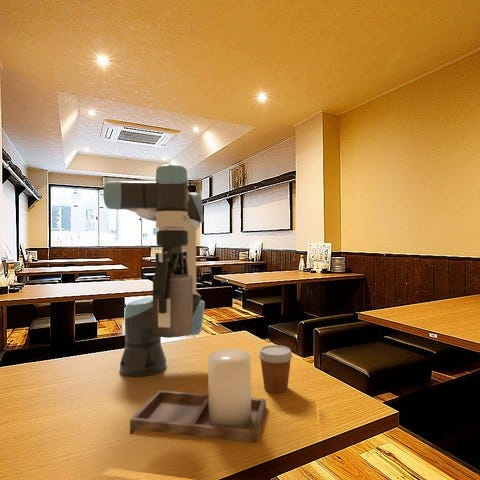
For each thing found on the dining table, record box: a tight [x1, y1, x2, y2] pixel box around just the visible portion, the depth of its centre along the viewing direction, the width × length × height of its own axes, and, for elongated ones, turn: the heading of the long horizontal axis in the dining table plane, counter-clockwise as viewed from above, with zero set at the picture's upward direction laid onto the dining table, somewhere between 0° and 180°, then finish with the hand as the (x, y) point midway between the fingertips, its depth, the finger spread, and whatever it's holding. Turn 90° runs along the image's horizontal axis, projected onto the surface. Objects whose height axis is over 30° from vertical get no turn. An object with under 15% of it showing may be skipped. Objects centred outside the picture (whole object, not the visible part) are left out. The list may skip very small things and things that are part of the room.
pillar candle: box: [152, 275, 193, 339], centre depth 82 cm, size 10×10×15 cm
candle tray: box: [129, 389, 267, 443], centre depth 80 cm, size 29×15×3 cm, turn 78°
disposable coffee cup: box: [258, 344, 293, 395], centre depth 95 cm, size 10×10×12 cm
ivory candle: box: [207, 348, 252, 429], centre depth 79 cm, size 10×10×15 cm
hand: (173, 321), depth 82 cm, fingers closed on pillar candle, 10 cm apart
